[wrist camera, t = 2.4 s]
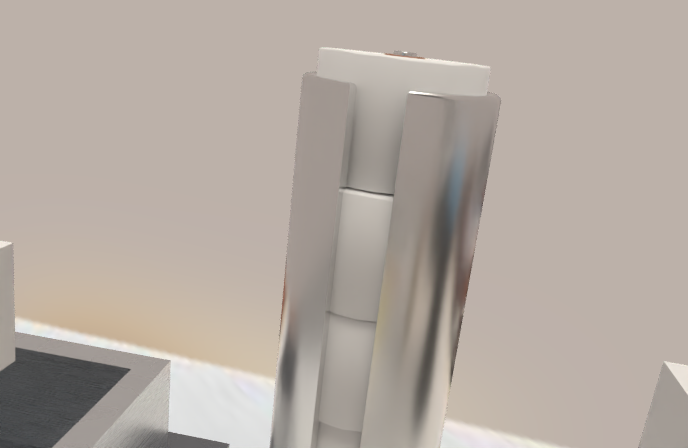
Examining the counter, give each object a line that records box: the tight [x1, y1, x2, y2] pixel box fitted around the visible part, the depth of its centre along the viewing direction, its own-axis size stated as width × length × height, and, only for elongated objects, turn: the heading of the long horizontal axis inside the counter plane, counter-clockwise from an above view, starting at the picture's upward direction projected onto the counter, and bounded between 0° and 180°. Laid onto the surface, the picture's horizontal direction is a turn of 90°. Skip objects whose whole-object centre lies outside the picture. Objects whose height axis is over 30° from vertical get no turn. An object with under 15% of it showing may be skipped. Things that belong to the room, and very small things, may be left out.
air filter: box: [270, 47, 501, 448], centre depth 24 cm, size 6×6×25 cm
